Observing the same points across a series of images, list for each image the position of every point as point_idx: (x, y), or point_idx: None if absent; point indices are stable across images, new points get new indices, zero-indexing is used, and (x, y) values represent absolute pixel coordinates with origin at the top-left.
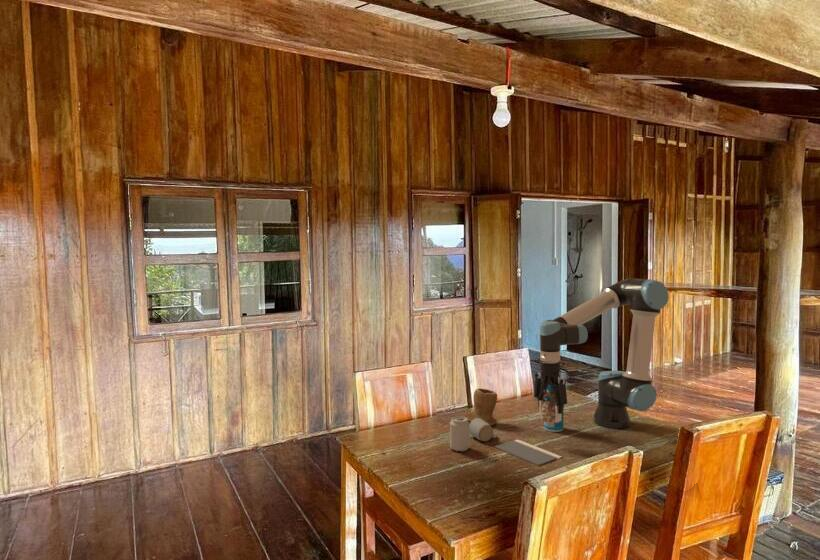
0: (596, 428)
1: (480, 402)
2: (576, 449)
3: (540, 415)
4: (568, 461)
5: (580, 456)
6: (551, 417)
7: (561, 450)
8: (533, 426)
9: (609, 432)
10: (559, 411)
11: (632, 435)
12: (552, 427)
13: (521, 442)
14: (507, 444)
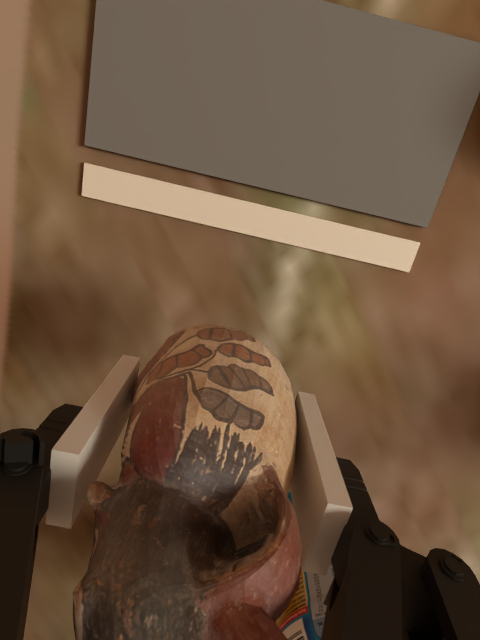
0: None
1: None
2: (94, 352)
3: (305, 398)
4: (26, 166)
5: (26, 278)
6: (159, 357)
7: (141, 290)
8: (414, 493)
9: None
10: (60, 418)
11: None
12: None
13: (370, 242)
14: (429, 141)
